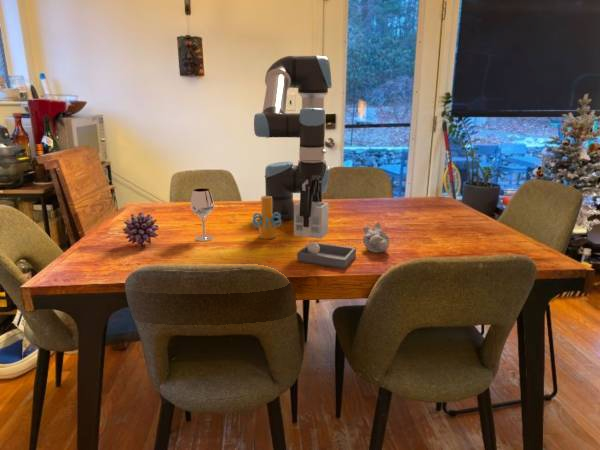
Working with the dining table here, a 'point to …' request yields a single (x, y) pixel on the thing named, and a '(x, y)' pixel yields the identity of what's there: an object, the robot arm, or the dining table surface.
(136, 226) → the purple spiky ball
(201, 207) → the wineglass
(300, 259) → the tray
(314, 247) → the ball
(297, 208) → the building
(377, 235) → the figurine
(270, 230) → the orange and blue piece
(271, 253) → the dining table surface
